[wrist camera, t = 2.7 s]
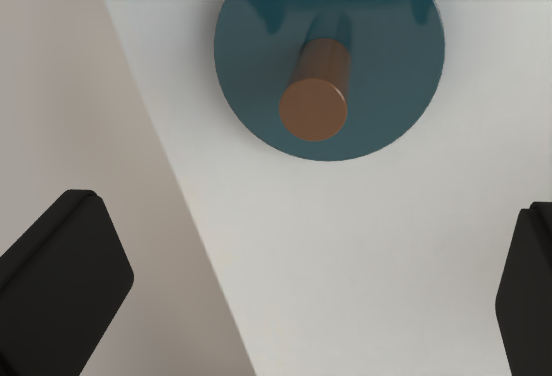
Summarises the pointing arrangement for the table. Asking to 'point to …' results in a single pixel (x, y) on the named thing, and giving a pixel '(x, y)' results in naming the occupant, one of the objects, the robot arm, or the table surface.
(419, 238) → the table surface
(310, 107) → the lid
